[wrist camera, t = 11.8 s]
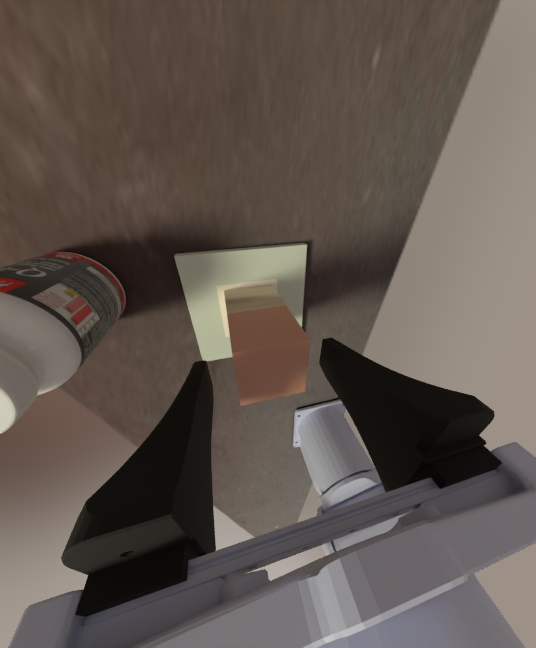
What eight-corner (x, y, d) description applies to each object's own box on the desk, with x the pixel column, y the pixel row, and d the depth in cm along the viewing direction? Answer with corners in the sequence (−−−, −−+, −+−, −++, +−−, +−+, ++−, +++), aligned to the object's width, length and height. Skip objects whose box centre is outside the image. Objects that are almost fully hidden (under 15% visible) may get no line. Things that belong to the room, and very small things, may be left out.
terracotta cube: (285, 351, 16) (305, 391, 13) (234, 360, 15) (240, 405, 12) (286, 305, 14) (309, 339, 10) (226, 314, 13) (231, 352, 10)
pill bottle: (78, 233, 13) (-152, 291, 5) (145, 301, 16) (76, 407, 8) (5, 276, 13) (-329, 402, 5) (85, 335, 16) (-40, 471, 8)
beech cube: (272, 324, 19) (285, 350, 16) (230, 331, 18) (234, 360, 15) (271, 284, 17) (286, 305, 14) (223, 290, 16) (226, 313, 13)
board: (298, 340, 22) (300, 344, 21) (203, 356, 20) (203, 362, 20) (303, 242, 17) (307, 244, 16) (175, 253, 15) (173, 256, 14)
